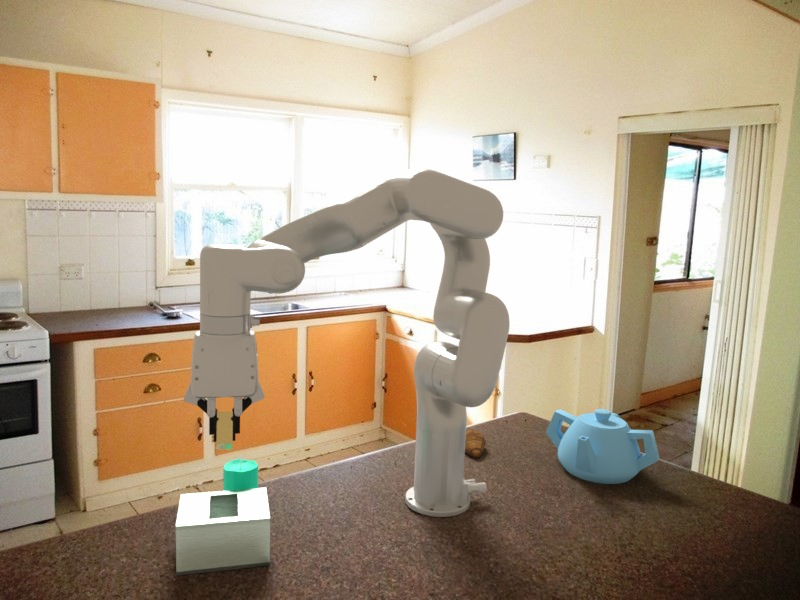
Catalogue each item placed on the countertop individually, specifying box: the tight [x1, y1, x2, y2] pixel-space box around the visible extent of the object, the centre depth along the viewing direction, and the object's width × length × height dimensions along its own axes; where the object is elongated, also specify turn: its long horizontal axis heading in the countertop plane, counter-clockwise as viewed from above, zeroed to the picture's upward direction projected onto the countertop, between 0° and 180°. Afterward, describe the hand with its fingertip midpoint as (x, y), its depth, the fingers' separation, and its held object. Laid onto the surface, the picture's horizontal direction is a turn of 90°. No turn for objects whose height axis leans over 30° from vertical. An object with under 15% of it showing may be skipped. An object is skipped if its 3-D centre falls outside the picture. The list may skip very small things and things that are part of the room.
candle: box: [222, 456, 259, 491], centre depth 114 cm, size 6×6×12 cm
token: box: [215, 410, 234, 451], centre depth 102 cm, size 2×5×5 cm
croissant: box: [465, 429, 487, 460], centre depth 153 cm, size 14×7×5 cm, turn 5°
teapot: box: [545, 408, 660, 485], centre depth 142 cm, size 19×19×14 cm
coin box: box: [175, 486, 271, 576], centre depth 104 cm, size 14×11×8 cm
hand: (224, 437), depth 102 cm, fingers closed on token, 2 cm apart
